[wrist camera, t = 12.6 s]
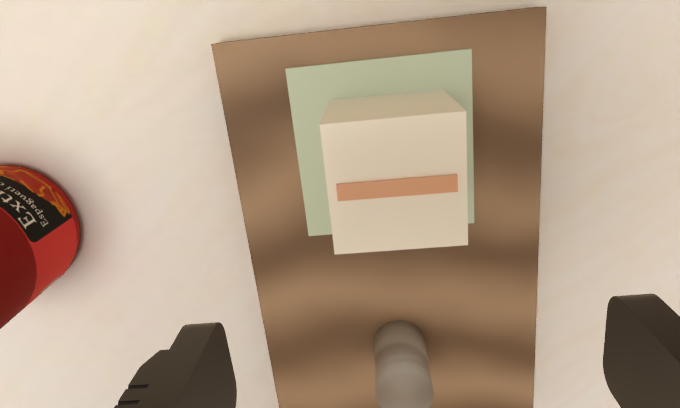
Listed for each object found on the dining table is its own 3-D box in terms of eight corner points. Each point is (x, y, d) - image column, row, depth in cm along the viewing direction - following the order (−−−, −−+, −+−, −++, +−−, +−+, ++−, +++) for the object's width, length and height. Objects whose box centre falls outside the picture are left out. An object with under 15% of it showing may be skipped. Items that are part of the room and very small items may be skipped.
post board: (525, 396, 33) (558, 474, 28) (286, 409, 34) (270, 486, 29) (536, 7, 25) (586, 5, 19) (219, 42, 26) (179, 50, 20)
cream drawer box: (443, 88, 25) (467, 111, 19) (446, 196, 27) (468, 246, 21) (329, 99, 25) (319, 125, 19) (340, 204, 27) (334, 256, 21)
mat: (473, 220, 27) (474, 223, 27) (309, 233, 28) (308, 236, 28) (470, 48, 24) (471, 48, 24) (286, 68, 25) (285, 68, 25)
